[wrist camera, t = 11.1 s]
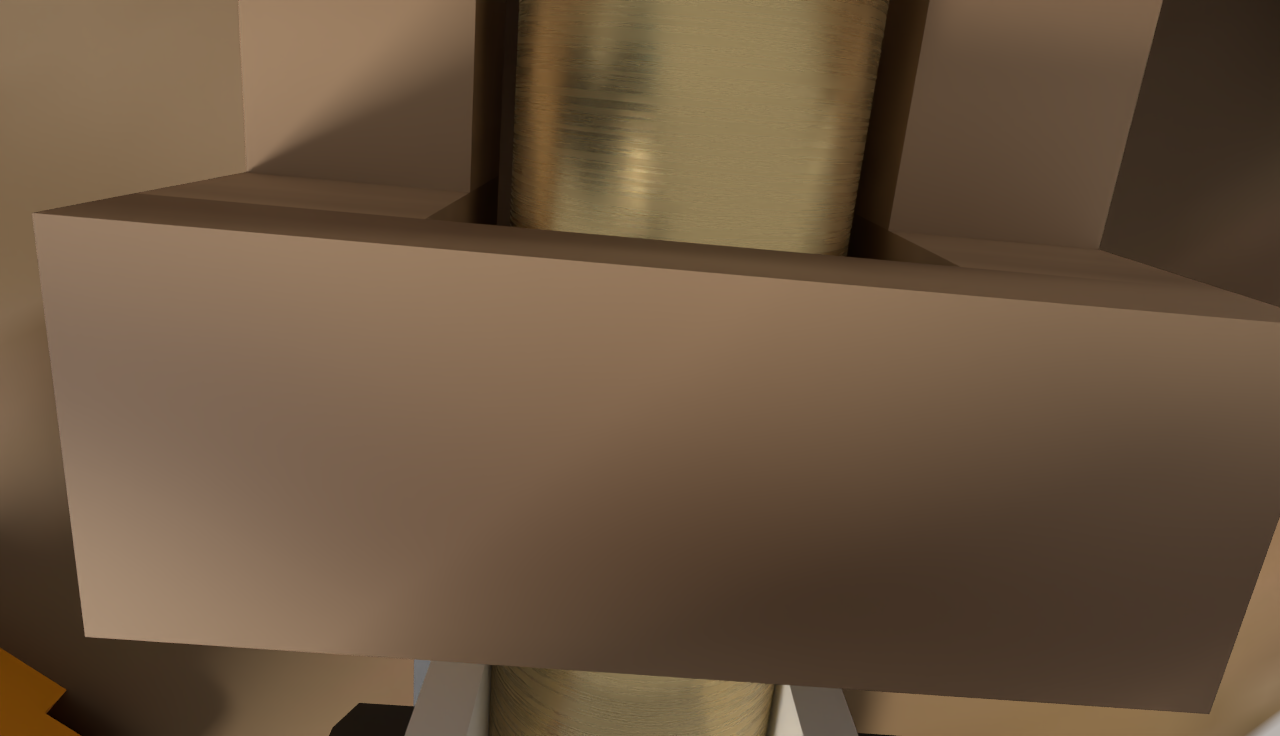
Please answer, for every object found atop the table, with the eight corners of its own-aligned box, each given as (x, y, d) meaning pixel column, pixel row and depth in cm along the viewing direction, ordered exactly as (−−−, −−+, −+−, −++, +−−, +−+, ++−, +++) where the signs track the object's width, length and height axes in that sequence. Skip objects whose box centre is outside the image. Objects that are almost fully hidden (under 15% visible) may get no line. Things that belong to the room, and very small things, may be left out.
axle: (541, -143, 12) (506, -274, 7) (853, -108, 12) (987, -213, 8) (501, 694, 16) (466, 908, 12) (731, 705, 16) (775, 917, 12)
